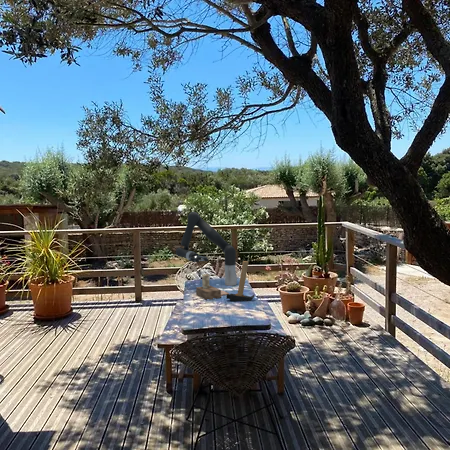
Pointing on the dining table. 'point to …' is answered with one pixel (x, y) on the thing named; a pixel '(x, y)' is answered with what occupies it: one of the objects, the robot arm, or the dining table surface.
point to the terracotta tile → (223, 293)
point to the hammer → (241, 286)
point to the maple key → (205, 281)
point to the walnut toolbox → (208, 292)
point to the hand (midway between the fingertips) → (203, 260)
